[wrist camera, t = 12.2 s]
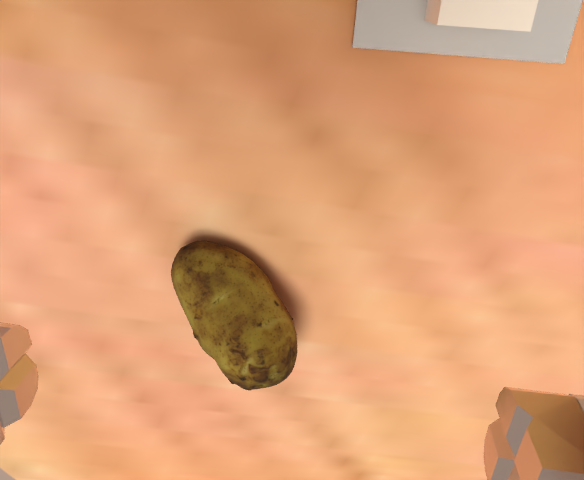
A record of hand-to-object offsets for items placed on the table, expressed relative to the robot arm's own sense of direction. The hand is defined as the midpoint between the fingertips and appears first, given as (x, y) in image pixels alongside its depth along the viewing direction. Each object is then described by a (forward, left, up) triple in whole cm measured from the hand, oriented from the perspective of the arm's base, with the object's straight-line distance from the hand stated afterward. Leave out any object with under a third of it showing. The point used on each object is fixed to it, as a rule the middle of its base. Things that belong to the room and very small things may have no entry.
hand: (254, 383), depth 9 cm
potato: (-6, -18, -31) cm, 37 cm away
